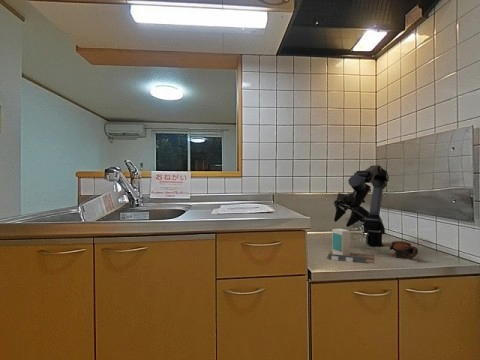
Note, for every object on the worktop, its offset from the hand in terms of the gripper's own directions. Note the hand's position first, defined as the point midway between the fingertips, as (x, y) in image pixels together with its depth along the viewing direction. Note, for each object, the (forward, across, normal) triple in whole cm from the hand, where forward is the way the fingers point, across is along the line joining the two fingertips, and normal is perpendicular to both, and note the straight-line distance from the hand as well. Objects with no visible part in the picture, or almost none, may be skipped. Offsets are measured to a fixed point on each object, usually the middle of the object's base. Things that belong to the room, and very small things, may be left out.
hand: (340, 223), depth 129 cm
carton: (+12, +8, +3) cm, 15 cm away
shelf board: (+11, +11, +5) cm, 16 cm away
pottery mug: (-1, +17, +23) cm, 28 cm away
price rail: (+14, +15, +1) cm, 21 cm away
